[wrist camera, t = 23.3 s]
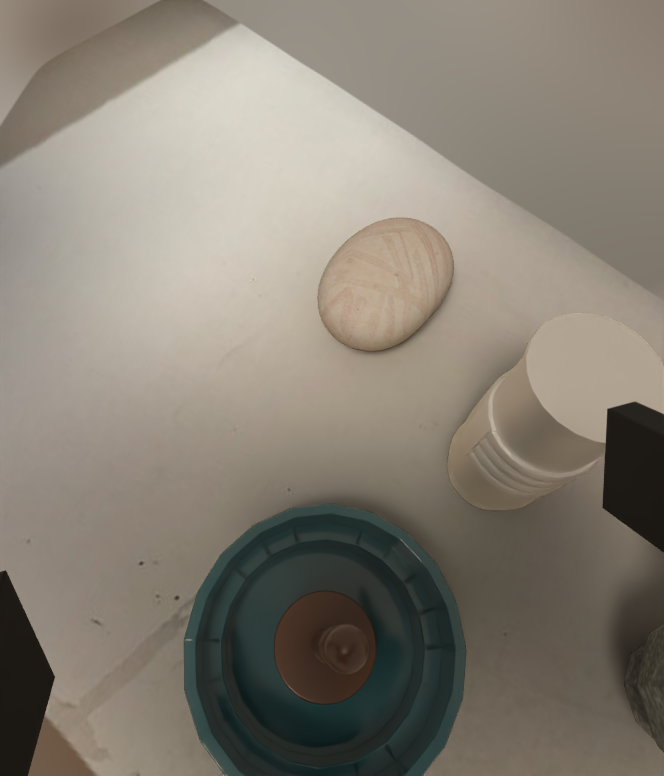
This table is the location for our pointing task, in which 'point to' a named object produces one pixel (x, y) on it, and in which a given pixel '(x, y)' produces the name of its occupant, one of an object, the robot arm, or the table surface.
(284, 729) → the bowl
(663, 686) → the mortar and pestle
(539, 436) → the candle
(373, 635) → the wooden peg stand
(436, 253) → the decorative stone
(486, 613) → the table surface
